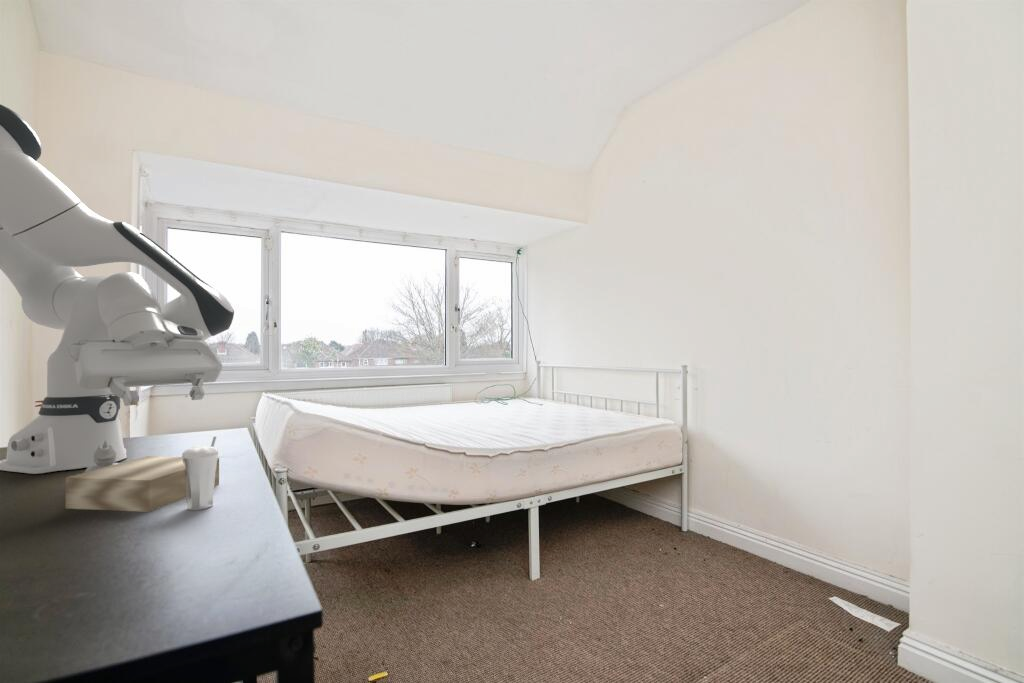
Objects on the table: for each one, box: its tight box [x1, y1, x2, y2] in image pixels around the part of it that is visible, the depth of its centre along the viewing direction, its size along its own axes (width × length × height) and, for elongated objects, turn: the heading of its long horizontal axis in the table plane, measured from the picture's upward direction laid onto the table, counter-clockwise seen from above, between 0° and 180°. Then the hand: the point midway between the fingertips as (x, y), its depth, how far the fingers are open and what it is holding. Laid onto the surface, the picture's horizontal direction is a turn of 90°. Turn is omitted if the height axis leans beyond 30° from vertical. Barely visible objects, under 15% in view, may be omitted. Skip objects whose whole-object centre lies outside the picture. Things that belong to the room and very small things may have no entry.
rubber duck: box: [84, 440, 120, 473], centre depth 84 cm, size 5×7×8 cm
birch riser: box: [65, 455, 220, 513], centre depth 78 cm, size 14×14×5 cm
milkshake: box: [181, 436, 219, 511], centre depth 72 cm, size 4×5×10 cm
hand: (167, 400), depth 79 cm, fingers open, 8 cm apart
